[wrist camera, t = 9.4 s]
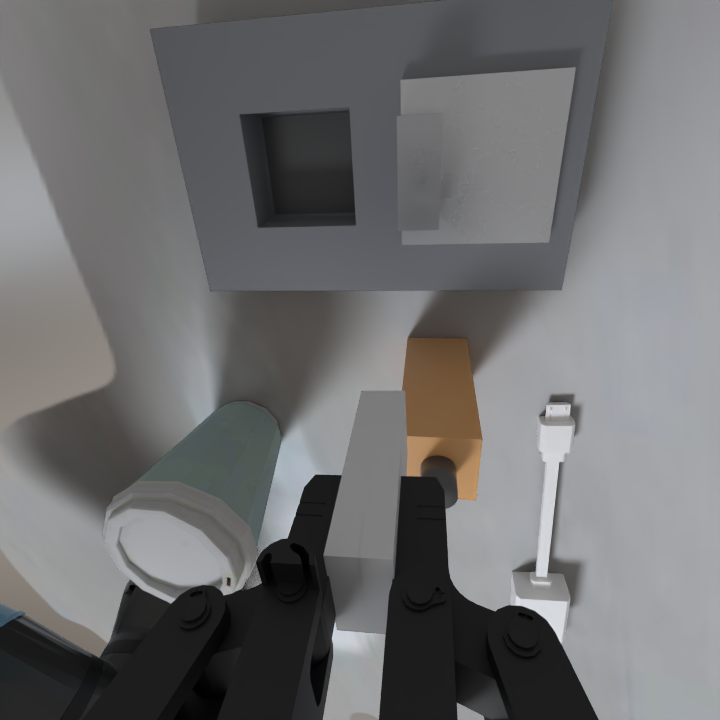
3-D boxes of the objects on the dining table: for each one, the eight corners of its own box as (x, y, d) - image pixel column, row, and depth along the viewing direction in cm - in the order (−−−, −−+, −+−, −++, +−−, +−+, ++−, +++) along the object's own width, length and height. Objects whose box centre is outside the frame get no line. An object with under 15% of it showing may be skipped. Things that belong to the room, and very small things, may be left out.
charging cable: (586, 391, 36) (599, 415, 33) (554, 636, 50) (561, 668, 47) (520, 393, 37) (528, 416, 34) (507, 633, 51) (512, 664, 48)
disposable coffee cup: (196, 455, 44) (99, 599, 31) (190, 364, 39) (69, 492, 26) (300, 477, 44) (244, 632, 31) (308, 388, 38) (245, 531, 25)
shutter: (402, 242, 26) (398, 260, 23) (401, 80, 22) (396, 75, 19) (546, 239, 25) (563, 258, 21) (572, 68, 21) (597, 60, 18)
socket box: (238, 267, 34) (210, 290, 29) (195, 41, 27) (149, 28, 22) (543, 264, 30) (561, 290, 26) (582, 6, 23) (616, -17, 19)
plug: (407, 386, 37) (396, 522, 25) (407, 337, 34) (394, 460, 22) (463, 387, 36) (479, 528, 24) (466, 338, 34) (486, 465, 22)
